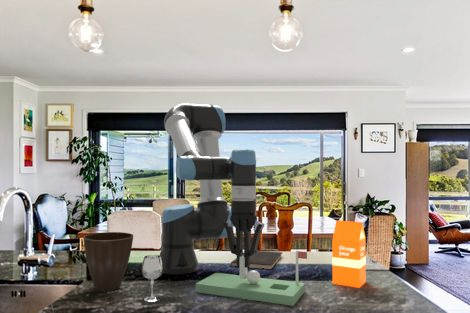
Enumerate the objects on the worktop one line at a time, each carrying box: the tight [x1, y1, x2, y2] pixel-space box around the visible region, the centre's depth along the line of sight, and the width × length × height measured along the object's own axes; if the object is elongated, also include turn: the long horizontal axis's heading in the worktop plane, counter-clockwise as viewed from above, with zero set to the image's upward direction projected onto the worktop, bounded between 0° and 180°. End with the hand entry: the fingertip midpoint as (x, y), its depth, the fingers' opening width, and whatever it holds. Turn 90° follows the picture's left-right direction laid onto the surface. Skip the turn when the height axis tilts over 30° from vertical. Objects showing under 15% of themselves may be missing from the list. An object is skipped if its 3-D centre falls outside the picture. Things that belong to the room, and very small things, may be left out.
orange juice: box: [331, 220, 367, 289], centre depth 133 cm, size 8×9×20 cm
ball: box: [247, 269, 261, 284], centre depth 122 cm, size 4×4×4 cm
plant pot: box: [83, 231, 134, 292], centre depth 127 cm, size 15×15×16 cm
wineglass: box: [141, 254, 163, 303], centre depth 115 cm, size 6×6×12 cm
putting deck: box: [195, 249, 308, 306], centre depth 123 cm, size 31×14×12 cm, turn 67°
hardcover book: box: [230, 250, 283, 270], centre depth 163 cm, size 16×23×2 cm
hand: (243, 277), depth 123 cm, fingers closed
